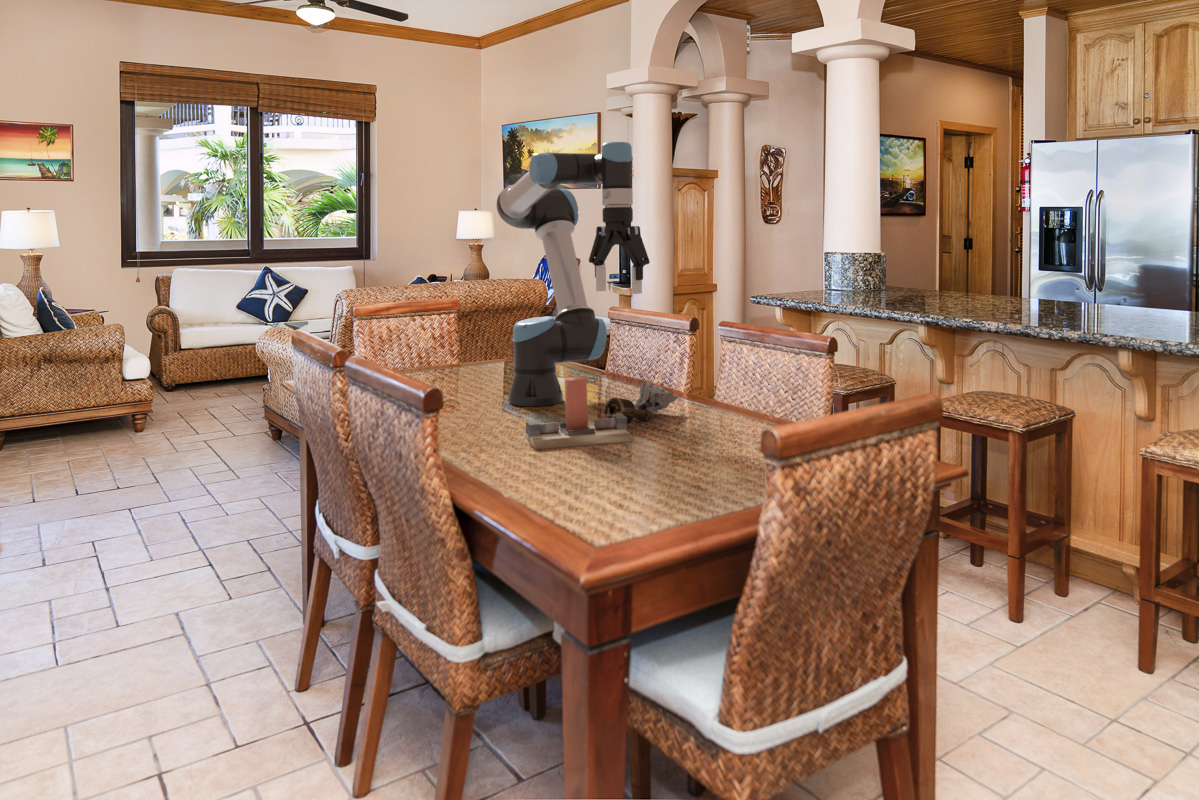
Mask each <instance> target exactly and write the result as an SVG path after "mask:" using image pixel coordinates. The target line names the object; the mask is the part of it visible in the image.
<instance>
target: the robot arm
mask: <svg viewBox="0 0 1199 800" xmlns="http://www.w3.org/2000/svg"><path fill="white" fill-rule="evenodd" d="M632 150H633V149H632V145H631V143H630V142H628V141H608V142H604V143H602V145H601V150H600V151H601V152H600V153H586V152H585V153H581V152H580V153H579V152H578V153H573V152H572V153H571V152H567V153H566V152H548V151H547V152H545V151H544V152H537V153H534V154H532V156H531V158H530V161H529V165H528V167H529V168H528V170H529V171H527V172H526V173H525V174H524V175H523V176H521V178H520V179H518V181H517V182H515V183H514V184H510V185H507V186H506V187H504V189H502V191H501V192H500V193H499V194H498V196H497V199H496V211H497V213H498V215H499V217H500V219H502V221H504V223H506V224H507V225H508V226H511V227H512V228H516V229H525V230H527V229H531V230H533V229H534V232H535V236H536V238H538V240H541V241H542V244H543V249H544V253H545V257H546V261H547V268H548V271H549V276H550V280H551V286H552V290H553V294H554V299H555V303H556V308H557V314H556V316H555V317H553V316H549V315H548V316H547V315H546V316H535V317H531V318H526V319H523V320H519V321H517V322H516V323H515V324H514V326H513V328H512V340H511V341H512V346H513V347H512V349H513V350H512V351H513V372H514V373H513V379H512V381H511V385H510V390H509V393H508V403H509V404H511V405H514V406H520V407H521V406H522V407H543V406H552V405H557V404H560V403H562V402H563V400H564V398H563V397H564V394H563V391H562V388H561V385H560V382H559V380H558V379H559V378H558V376H557V369H556V364H558V363H567V362H569V363H571V362H582V361H584V362H588V361H590V360H591V361H592V360H596V359H597V360H598V359H599V358H600V357H601V356H602V355H603V354H604V352H605V349H606V344H607V338H608V337H607V336H608V335H607V334H608V332H607V331H608V330H607V326H606V323H605V321H604V319H602V318H599V317H597V318H596V314H595V310H594V309H593V308H592V307H590V306H588V304H587V298H586V294H585V290H584V285H583V281H582V280H583V279H582V276H581V272H580V268H579V264H578V258H577V255H576V251H575V246H574V242H573V238H572V233H573V232H574V230H575V227H576V226H577V224H578V221H579V213H578V212H579V206H578V203H577V200H576V198H575V195H574V193H572V192H571V191H570V190H569V189H567V188H558V186H559V185H573V184H574V185H595V186H601V185H602V186H601V189H602V206H604V207H603V208H602V222H603V223H604V224H605V225H604V226H603V225H602V226H597V227H596V229H595V230H596V231H595V237H594V240H593V245H592V248H591V251H590V255H589V258H588V262H589V264H593V266H594V277H595V289H596V290H595V291H596V292H605V291H607V268H606V263H605V262H606V260H607V258H608V256H609V254H610V252H611V251H612V248H613V247H614V246H615V245H618V246H619V245H620V246H621V247H623V248H624V250H625V252H626V255H628V257H629V259H630V262H631V263H632V267H631V295H639V294H643V286H642V285H643V279H644V266H646V265H649V264H650V258H649V256H648V253H647V249H646V247H645V244H644V242H643V239H642V235H641V234H642V233H641V227H640V226H639V225H633V226H632V225H631V223H632V222H633V220H634V218H633V217H634V215H633V214H634V211H633V208H632V205H633V204H634V202H633V201H634V200H633V198H634V197H633V196H634V195H633V160H634V159H633V151H632Z"/></svg>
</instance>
